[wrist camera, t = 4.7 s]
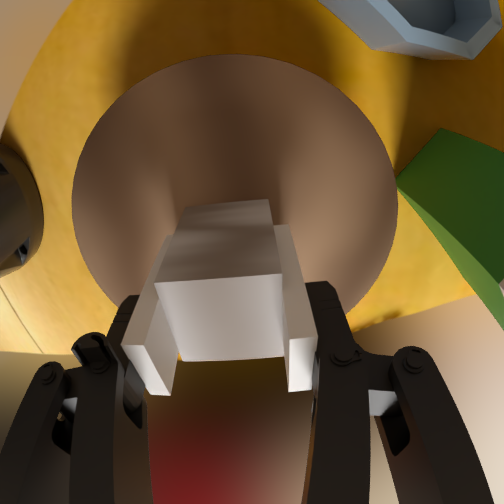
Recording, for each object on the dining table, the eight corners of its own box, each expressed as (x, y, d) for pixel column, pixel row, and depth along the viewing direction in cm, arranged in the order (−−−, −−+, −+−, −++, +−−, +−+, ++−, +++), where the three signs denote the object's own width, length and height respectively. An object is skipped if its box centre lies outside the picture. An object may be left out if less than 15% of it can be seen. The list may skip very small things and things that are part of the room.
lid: (133, 342, 21) (109, 421, 15) (52, 101, 12) (-44, 130, 5) (367, 326, 21) (397, 406, 14) (393, 59, 11) (490, 59, 5)
